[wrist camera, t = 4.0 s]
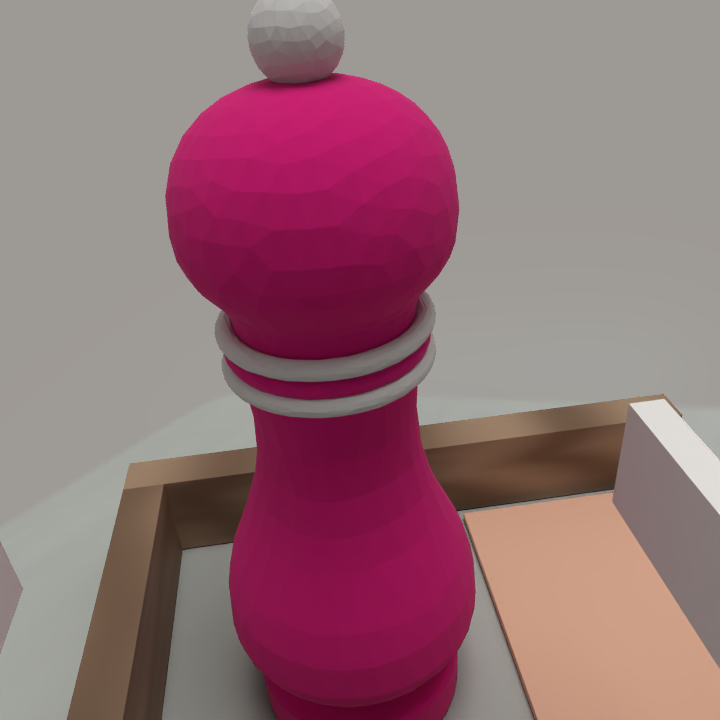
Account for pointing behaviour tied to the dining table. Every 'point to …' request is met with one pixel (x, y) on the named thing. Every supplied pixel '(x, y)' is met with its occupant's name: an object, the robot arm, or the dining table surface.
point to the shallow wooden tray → (228, 500)
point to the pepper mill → (330, 370)
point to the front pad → (590, 615)
